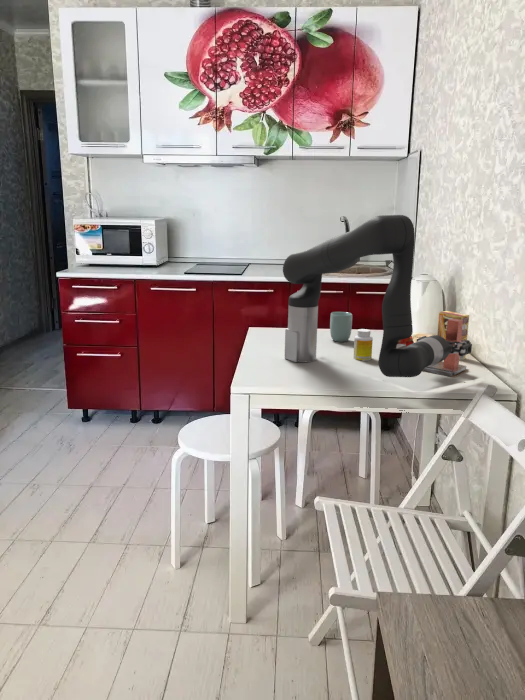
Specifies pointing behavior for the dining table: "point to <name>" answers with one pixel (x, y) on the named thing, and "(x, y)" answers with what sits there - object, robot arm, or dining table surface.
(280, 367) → the dining table surface
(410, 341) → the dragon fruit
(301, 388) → the dining table surface
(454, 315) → the candy box
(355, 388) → the dining table surface
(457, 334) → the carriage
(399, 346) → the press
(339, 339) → the cup
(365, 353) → the supplement bottle
